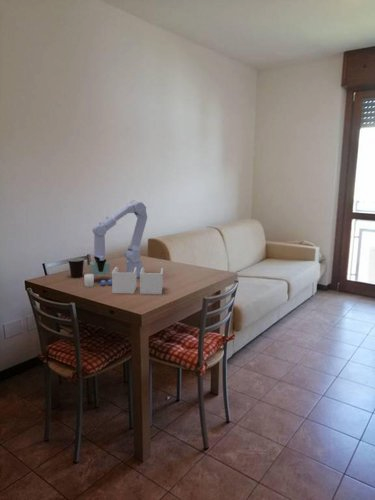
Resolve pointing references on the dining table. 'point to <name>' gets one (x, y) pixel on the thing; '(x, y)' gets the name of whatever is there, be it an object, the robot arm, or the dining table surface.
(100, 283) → the marble
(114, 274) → the storage container
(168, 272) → the dining table surface
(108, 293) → the dining table surface
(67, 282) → the dining table surface
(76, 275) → the coffee mug
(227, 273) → the dining table surface
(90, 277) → the white domed capsule
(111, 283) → the marble
